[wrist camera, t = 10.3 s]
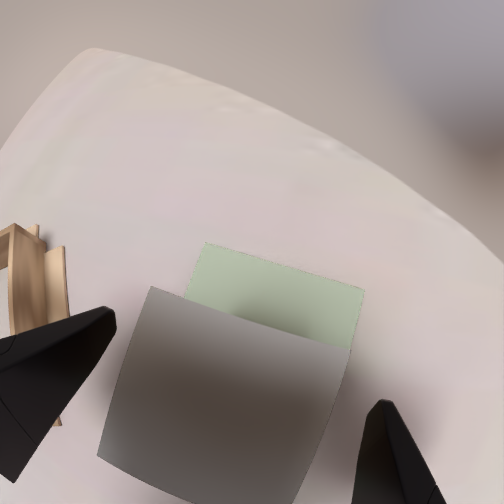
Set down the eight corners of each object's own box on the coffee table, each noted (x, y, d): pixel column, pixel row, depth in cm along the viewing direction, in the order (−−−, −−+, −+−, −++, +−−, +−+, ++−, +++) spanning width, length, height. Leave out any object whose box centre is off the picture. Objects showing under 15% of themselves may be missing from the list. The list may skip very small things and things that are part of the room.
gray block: (274, 434, 14) (279, 527, 5) (190, 405, 15) (96, 455, 6) (303, 352, 16) (351, 350, 6) (218, 325, 16) (151, 285, 7)
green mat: (288, 502, 13) (289, 504, 12) (135, 447, 14) (132, 449, 14) (362, 291, 17) (364, 289, 17) (206, 244, 19) (205, 242, 18)
